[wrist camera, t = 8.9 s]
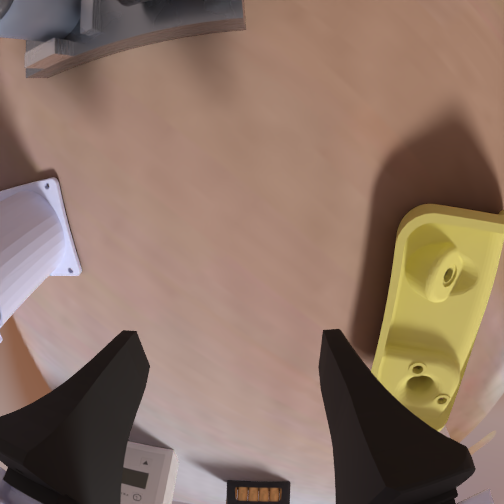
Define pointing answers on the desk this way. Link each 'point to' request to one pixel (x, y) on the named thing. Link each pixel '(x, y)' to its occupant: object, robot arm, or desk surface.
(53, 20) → the grey capped cylinder
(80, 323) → the desk surface
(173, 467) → the thermostat
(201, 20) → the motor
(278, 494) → the ammunition clip
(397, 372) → the plastic component
